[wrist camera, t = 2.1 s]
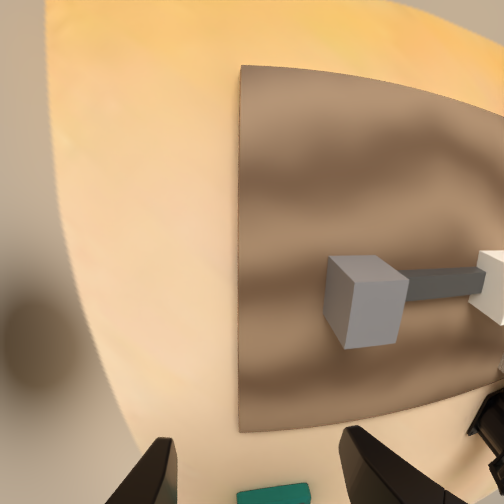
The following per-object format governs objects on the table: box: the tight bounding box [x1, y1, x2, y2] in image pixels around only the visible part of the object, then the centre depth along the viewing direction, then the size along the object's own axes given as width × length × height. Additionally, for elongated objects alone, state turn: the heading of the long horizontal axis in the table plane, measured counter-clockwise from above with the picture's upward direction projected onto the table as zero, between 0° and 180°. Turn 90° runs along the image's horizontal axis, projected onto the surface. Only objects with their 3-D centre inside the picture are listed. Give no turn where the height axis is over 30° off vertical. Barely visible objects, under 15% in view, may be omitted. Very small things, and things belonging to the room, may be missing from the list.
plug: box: [323, 250, 504, 349], centre depth 17 cm, size 4×19×4 cm, turn 89°
